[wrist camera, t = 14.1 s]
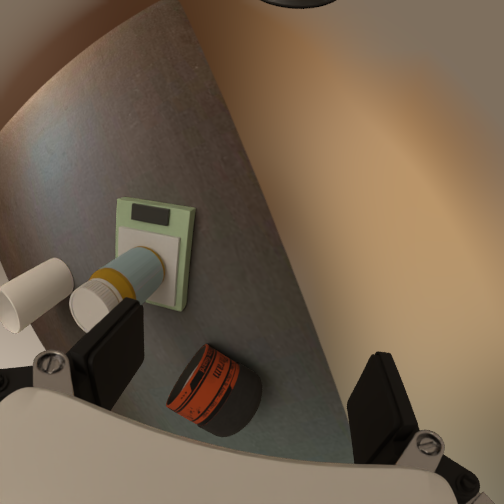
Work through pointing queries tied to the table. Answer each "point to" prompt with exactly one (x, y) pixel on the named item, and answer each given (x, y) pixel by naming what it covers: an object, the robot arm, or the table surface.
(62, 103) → the table surface
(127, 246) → the scale
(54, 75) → the table surface
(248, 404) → the oil filter
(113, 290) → the bottle
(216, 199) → the table surface
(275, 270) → the table surface
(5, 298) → the cup
